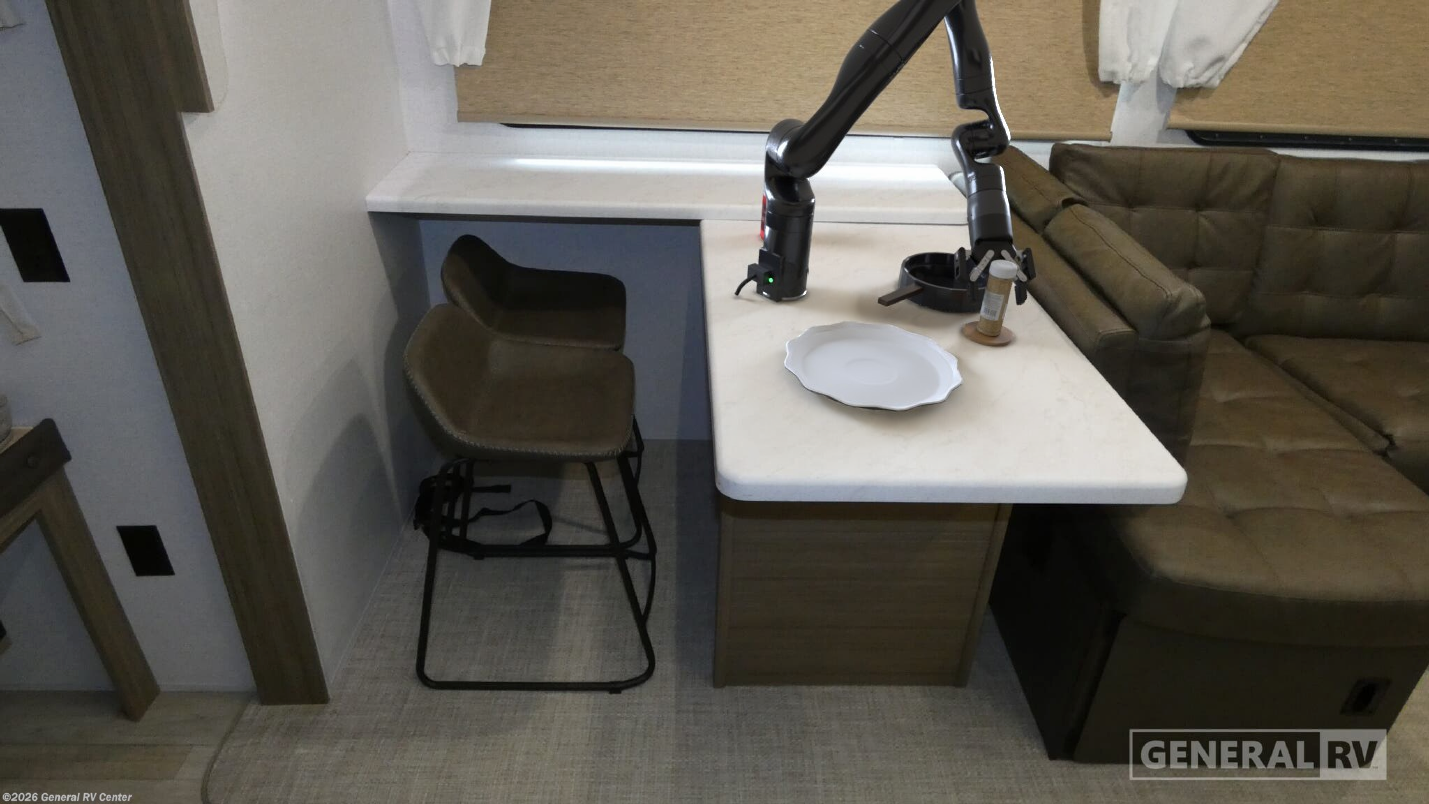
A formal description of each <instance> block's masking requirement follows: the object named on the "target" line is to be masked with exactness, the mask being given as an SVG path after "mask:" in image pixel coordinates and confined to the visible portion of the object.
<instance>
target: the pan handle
mask: <svg viewBox="0 0 1429 804" xmlns="http://www.w3.org/2000/svg"><path fill="white" fill-rule="evenodd" d="M922 291H923V287H922V286H919V285H917V284H915V283H914V284H911V285H909V286H906V287H904V288H901V289H899V290H898V289H896V290H894V291H891V292H888V293H886V294H884V295H881V296H879V297H878V298H877V303H876V304H878V305H880V306H883V307H885V308H888V307H891V306H893V305H895V304H898V303H900V302H903V301H905V300H908V298H910V297H913V296H915V295H918V294H920V293H922Z"/></svg>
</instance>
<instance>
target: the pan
mask: <svg viewBox="0 0 1429 804" xmlns="http://www.w3.org/2000/svg"><path fill="white" fill-rule="evenodd" d="M975 266H976V265H975V263H974V262H973V261H972V260H971V259H970V257H968V259H967V260H966V274H968V275H970V273H971V271H972V270H973V268H974V267H975ZM899 269H900V270H899V275H898V281H897V290H899V289H901V288H904V287H906V286H909V285H911V284H914V283H915V284H917V285H919V286H922V287H923V291H922V293H920V294H918V295H915V296H913V297H910V298H908V299H907V300H908V301H909V302H911V303H913V304H915V305H918V306H920V307H923V308H926V309H930V310H933V311H938V312H944V313H953V314H967V313H976V312H981V307H982V303H983V299H984V294H985V290H986V287H987V283H988V279H989V274H984V272H981V273H980V275H979V276H978V278H977V279H976V282H978V290H979V303H977V304H976V305H971V302H969V301H968V297H967V287H966V285H965V284H964V283H961V282H960V283H958V282H956V281H955V265H954V253H953V252H943V251H926V252H918V253H915V254H911V255H908V256H907V257H905V258H904V259H903V260H902V262H901V264H900V268H899Z"/></svg>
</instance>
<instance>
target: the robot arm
mask: <svg viewBox="0 0 1429 804" xmlns="http://www.w3.org/2000/svg"><path fill="white" fill-rule="evenodd" d="M942 21H943V23H944V26H945V31H946V36H947V42H948V46H949V47H948V48H949V53H950V61H951V69H952V76H953V84H954V94H955V95H954V96H955V102H956V105H957V107H958V109H960V110H963V111H978V112H979V111H980V112H982V113H984V114H985V115H986V116H987V118H983V119H978V120H974V121H969V122H964V123H959V124H958V125H956V126H955V128H954V129H953V130H952V132H951V135H950V146H951V149H952V152H953V154H954V156H955V159H956V161H957V163H958V165H959V167H960V170H961V173H962V175H963V180H964V187H965V196H966V221H967V227H968V236H969V246H970V249H966V248H965V247H964V246H960V247H959V248H957V250H956V251H955V252H954V253H953V254H954V265H955V281H956V282H958V283H960V282H961V283H964V284H965V285H966V287H967V297H968V301H969V302H971V305H976V304H977V303H979V290H978V282H976V279H977V278H978V276H979V275H980V273H981V272H984V274H989V270H990V266H991V263H992V262H993V261H995V260H1006V261H1010V262H1013V263H1014V264H1016V265H1017V272H1016V276H1015V277H1014V279H1013V283H1012V284H1014V287H1013V288H1014V289H1013V290H1014V296H1015V297H1014V298H1015V304H1016V306H1022V305H1024V304H1025V303H1026V301H1027V300H1028V289H1027V284H1029V283H1031V281H1033V280H1034V279H1035V278H1036V277H1037V273H1036V268H1035V267H1036V266H1035V262H1034V257H1033V250H1032V248H1030V247H1026V248H1024V249H1016V248H1015V246H1014V233H1013V227H1012V218H1011V217H1012V216H1011V208H1010V203H1009V200H1008V195H1007V188H1006V187H1007V186H1006V179H1005V171H1004V169H1003V167H1002V166H1001V165H1000V164H997V163H992V162H980V161H977V160H981V159H987V158H988V159H989V158H993V157H997V156H1001V155H1003V154H1005V153H1006V152H1007V150H1008V149H1009V147H1010V144H1011V133H1010V129H1009V127H1008V124H1007V121H1006V120H1005V117H1004V115H1003V113H1002V110H1001V107H1000V104H999V100H998V96H997V90H996V82H995V81H996V80H995V73H994V72H995V71H994V63H993V57H992V52H991V48H990V45H989V42H988V39H987V37H986V34H985V31H984V29H983V26H982V23H981V21H980V17H979V13H978V9H977V4H976V0H898V1H897V2H895V3H894V4H893V5H891V6H890V7H889V8H888V9H886V11H884V12H883V13H882V14H881V15H879V16H878V17H877V18H876V19H875V20H873V22H872V23H871V24H870V25H869V26H868V27H867V28H866V29H865V30H864V32H863V33H862V34H861V35H860V37H859V38H858V39H857V40H856V42H855V43H854V44H853V45H852V46H851V48H850V49H849V50H848V52H847V53H846V55H845V57H844V59H843V60H842V63H841V66H840V67H839V71H838V73H837V75H836V78H835V81H834V84H833V85H832V88H831V91H830V92H829V94H828V96H827V97H826V99H825V100H824V102H823V103H822V104H821V106H820V107H819V108H818V109H817V110H816V111H815V113H814V114H813V115H812V116H811V117H810V118H809V119H808V120H807V121H806V122H804V121H802V120H800V119H797V118H791V117H790V118H785V119H782V120H780V121H779V122H777V123H776V124H774V126H773V127H772V129H770V132H769V133H768V135H767V138H766V143H765V150H764V163H763V164H764V166H763V169H764V170H763V192H764V191H765V195H766V215H765V227H764V240H762V242H763V243H762V246H761V247H759V248H758V259H757V263H756V262H753V263H750V264H748V265H747V273H746V278H745V279H743V280H742V281H741V283H740V284H739V285H738V286H737V287H736V290H735V292H734V296H737V297H738V296H739V295H740V293H741V291H742V289H743V288H744V287H745V286H746V285H748V283H750V282H755V283H756V287H755V288H756V289H755V292H756V293H757V294H759V295H761V296H763V297H765V298H767V299H769V300H771V301H773V302H775V303H780V302H795V301H799V300H801V299H804V297H806V295H807V285H808V284H807V283H808V277H809V276H810V275H809V274H810V266H809V265H810V255H811V247H812V245H811V244H812V237H813V227H814V220H815V219H814V217H815V209H816V195H815V193H814V190H813V188H812V184H811V180H810V178H813V177H814V176H816V175H817V174H818V173H819V172H820V171H821V170H822V169H823V168H824V167H825V166H826V164H827V163H828V162H829V161H830V159H831V157H832V156H834V155H833V154H835V152H836V150H838V148H839V146H840V145H841V144H842V142H843V141H844V139H845V137H846V136H847V135H848V133H849V132H850V131H851V129H852V128H853V127H854V125H855V124H856V123H857V122H858V121H859V119H861V117H862V116H863V115H864V114H865V113H866V111H867V110H868V109H869V108H870V107H871V106H872V105H873V103H874V102H875V101H876V99H877V98H878V97H879V96H880V95H881V94H882V92H883V91H884V90H885V89H886V88H887V87H888V86H889V85H890V84H891V83H892V82H893V80H894V79H895V78H896V77H897V75H899V74H900V73H901V71H902V70H903V69H904V67H905V66H906V65H907V64H908V63H909V62H910V60H911V59H912V58H913V56H914V55H915V54H916V53H917V52H918V50H919V49H920V48H921V47H922V46H923V45H924V43H925V42H926V41H927V40H928V39H929V37H930V36H931V35H932V34H933V32H934V31H935V30H936V29H937V27H938V26H939V25H940V24H941V22H942ZM968 257H970V259H971V260H972V261H973V262H974V263H975V265H976V266H975V267H974V268H973V270H972V271H971V273H970V275H968V274H966V260H967V259H968ZM1015 259H1017V262H1018V263H1020V266H1019V264H1018V263H1017V262H1016V260H1015Z"/></svg>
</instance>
